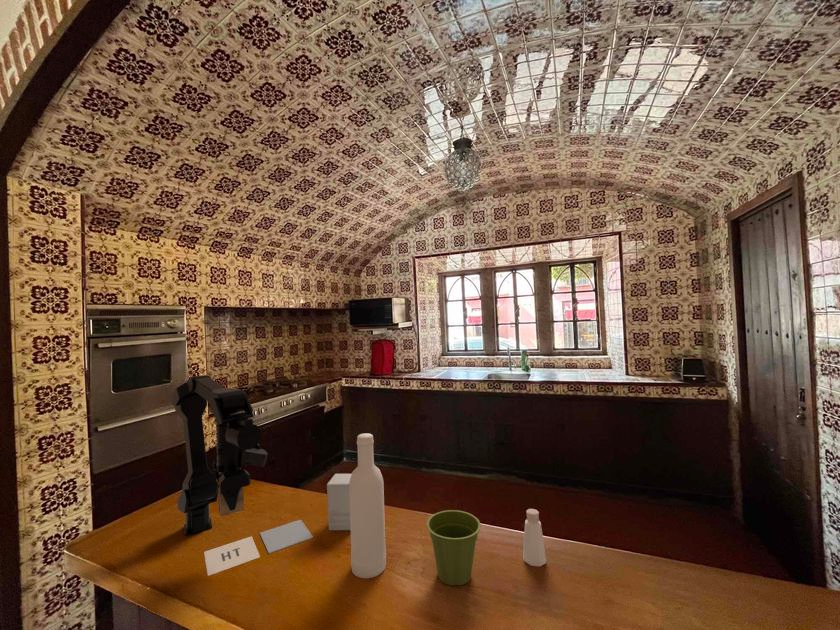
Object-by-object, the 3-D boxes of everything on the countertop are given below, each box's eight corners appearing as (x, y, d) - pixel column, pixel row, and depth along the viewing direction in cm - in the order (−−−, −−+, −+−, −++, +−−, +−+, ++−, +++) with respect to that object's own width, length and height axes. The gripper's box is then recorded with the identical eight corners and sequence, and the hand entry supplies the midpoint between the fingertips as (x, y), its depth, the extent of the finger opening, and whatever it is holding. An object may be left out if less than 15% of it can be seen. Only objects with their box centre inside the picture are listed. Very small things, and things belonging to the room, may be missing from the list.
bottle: (356, 583, 78) (352, 442, 79) (347, 562, 85) (343, 433, 86) (391, 572, 81) (387, 436, 82) (379, 552, 88) (376, 428, 89)
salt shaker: (526, 549, 88) (525, 503, 88) (549, 557, 85) (547, 509, 85) (518, 561, 83) (517, 513, 84) (542, 570, 80) (540, 519, 81)
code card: (204, 552, 91) (204, 551, 91) (251, 536, 97) (251, 536, 97) (207, 576, 82) (207, 575, 82) (260, 557, 88) (260, 556, 88)
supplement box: (361, 517, 106) (359, 473, 106) (354, 531, 98) (352, 484, 98) (336, 516, 106) (335, 472, 107) (327, 530, 99) (326, 483, 99)
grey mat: (259, 533, 98) (259, 532, 98) (300, 520, 105) (300, 519, 105) (268, 554, 89) (268, 552, 89) (313, 538, 96) (313, 536, 96)
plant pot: (476, 601, 72) (474, 543, 72) (420, 588, 76) (418, 533, 76) (487, 563, 83) (485, 513, 83) (437, 554, 87) (436, 506, 88)
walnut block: (218, 508, 91) (218, 488, 91) (240, 502, 93) (240, 482, 94) (220, 516, 86) (220, 495, 87) (243, 509, 89) (243, 489, 89)
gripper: (272, 444, 87) (274, 510, 87) (257, 427, 103) (258, 483, 102) (220, 455, 81) (221, 526, 81) (212, 435, 96) (213, 495, 96)
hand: (231, 505), depth 90 cm, fingers closed on walnut block, 5 cm apart
